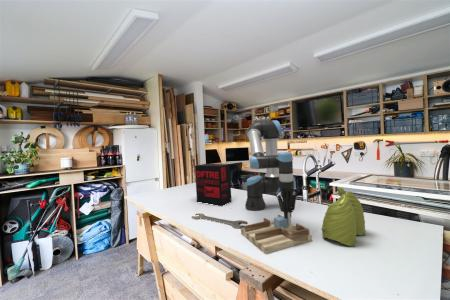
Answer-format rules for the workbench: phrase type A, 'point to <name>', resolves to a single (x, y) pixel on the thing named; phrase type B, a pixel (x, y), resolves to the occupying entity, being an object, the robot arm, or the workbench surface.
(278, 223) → the block
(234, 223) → the wrench
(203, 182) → the product box
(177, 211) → the workbench surface
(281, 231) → the tan flat ridged piece
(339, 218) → the lungs
